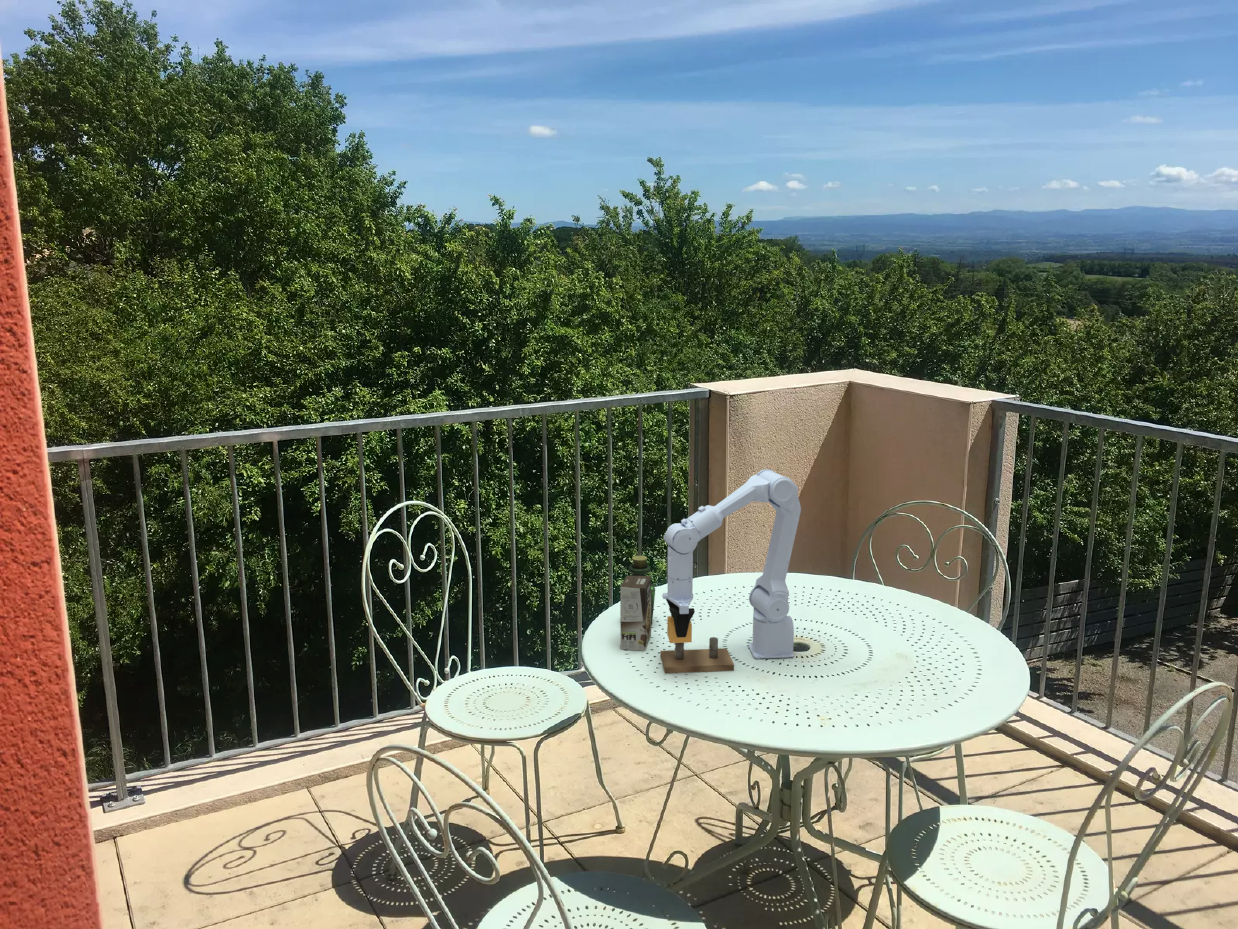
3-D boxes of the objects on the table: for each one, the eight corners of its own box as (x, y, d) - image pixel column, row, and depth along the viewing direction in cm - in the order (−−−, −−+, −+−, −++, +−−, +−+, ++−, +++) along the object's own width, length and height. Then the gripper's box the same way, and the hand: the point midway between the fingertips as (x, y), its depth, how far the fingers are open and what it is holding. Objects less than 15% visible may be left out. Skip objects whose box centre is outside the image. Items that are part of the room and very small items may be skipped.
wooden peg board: (726, 654, 212) (727, 630, 210) (734, 670, 203) (734, 646, 202) (660, 656, 211) (660, 633, 209) (664, 673, 202) (664, 648, 201)
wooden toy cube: (688, 633, 208) (688, 615, 207) (691, 642, 203) (691, 624, 202) (667, 634, 207) (667, 616, 206) (670, 643, 202) (670, 624, 202)
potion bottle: (618, 621, 232) (618, 555, 228) (646, 615, 236) (645, 551, 232) (633, 632, 225) (633, 564, 221) (661, 626, 229) (661, 559, 225)
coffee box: (645, 651, 214) (645, 588, 210) (619, 649, 215) (619, 586, 211) (652, 636, 222) (652, 575, 219) (627, 634, 224) (626, 574, 220)
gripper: (659, 566, 209) (658, 620, 212) (666, 587, 195) (666, 645, 197) (688, 565, 209) (688, 619, 212) (698, 586, 195) (697, 644, 198)
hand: (679, 631), depth 205 cm, fingers closed on wooden toy cube, 5 cm apart
